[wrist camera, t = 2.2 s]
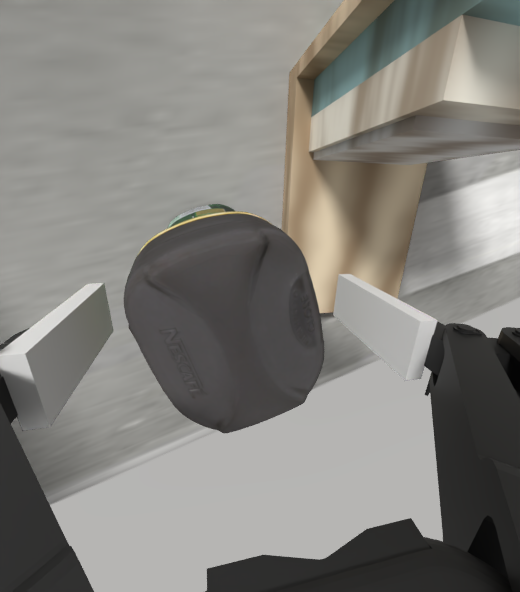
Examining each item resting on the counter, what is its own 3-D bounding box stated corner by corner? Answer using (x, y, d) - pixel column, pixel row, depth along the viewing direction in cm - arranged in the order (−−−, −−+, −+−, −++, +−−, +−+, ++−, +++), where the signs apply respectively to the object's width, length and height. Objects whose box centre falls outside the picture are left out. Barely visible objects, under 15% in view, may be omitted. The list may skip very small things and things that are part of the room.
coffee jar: (263, 284, 29) (355, 410, 12) (193, 308, 28) (187, 478, 11) (236, 193, 25) (317, 189, 8) (155, 217, 24) (57, 271, 7)
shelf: (277, 308, 30) (433, 530, 10) (289, 72, 23) (1016, -895, 3) (384, 301, 33) (667, 463, 13) (427, 90, 26) (1271, -294, 5)
